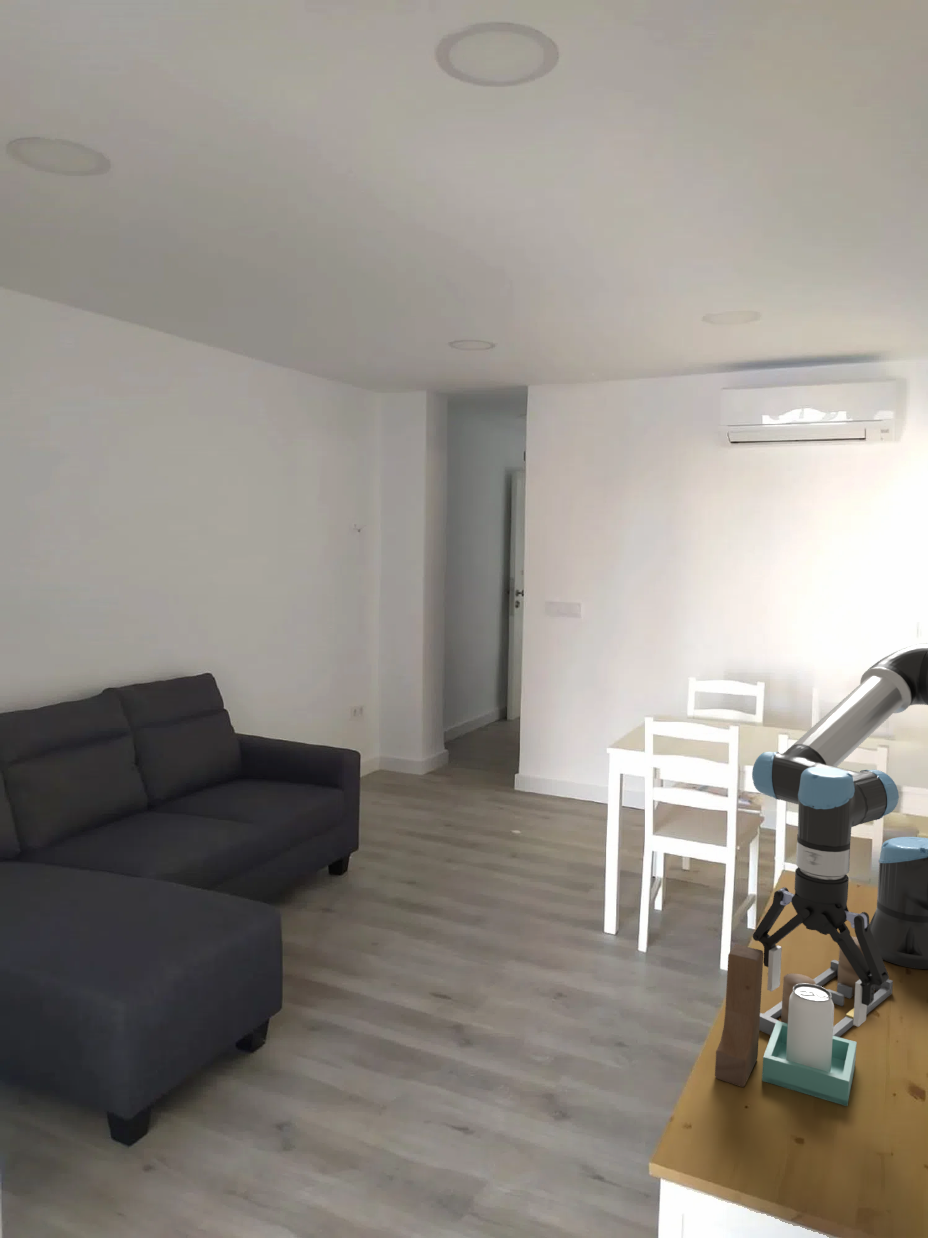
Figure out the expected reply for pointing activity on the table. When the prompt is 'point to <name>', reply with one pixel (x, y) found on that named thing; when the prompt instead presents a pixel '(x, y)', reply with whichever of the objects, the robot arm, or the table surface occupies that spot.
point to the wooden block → (740, 1016)
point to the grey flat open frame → (843, 991)
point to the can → (810, 1026)
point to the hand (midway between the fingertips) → (815, 1005)
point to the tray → (810, 1069)
